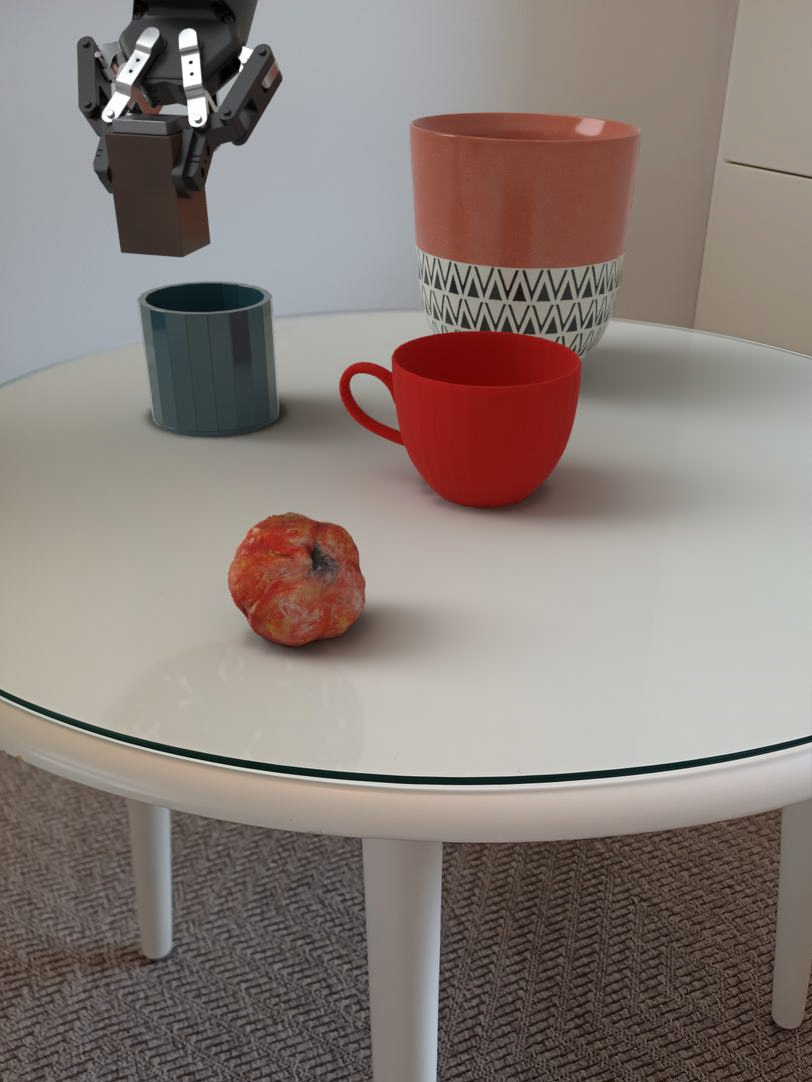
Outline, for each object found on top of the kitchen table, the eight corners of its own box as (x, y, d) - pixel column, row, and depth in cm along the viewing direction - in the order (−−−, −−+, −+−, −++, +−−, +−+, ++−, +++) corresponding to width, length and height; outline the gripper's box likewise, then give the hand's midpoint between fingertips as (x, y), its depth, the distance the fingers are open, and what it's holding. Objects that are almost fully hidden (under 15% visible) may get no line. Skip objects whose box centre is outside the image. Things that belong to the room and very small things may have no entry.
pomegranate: (220, 663, 65) (252, 637, 56) (208, 539, 66) (237, 494, 57) (344, 653, 68) (394, 627, 59) (331, 534, 69) (378, 490, 59)
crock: (143, 441, 88) (126, 313, 83) (164, 398, 97) (150, 280, 92) (274, 441, 89) (265, 314, 84) (284, 399, 98) (276, 281, 93)
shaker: (120, 253, 74) (101, 119, 69) (151, 239, 77) (135, 111, 73) (183, 257, 73) (168, 122, 69) (211, 243, 76) (198, 114, 72)
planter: (470, 334, 117) (474, 107, 106) (648, 364, 109) (673, 123, 98) (371, 386, 101) (365, 127, 91) (570, 424, 94) (589, 147, 83)
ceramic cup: (366, 448, 88) (363, 320, 83) (580, 468, 86) (590, 338, 81) (317, 515, 77) (309, 373, 72) (561, 540, 75) (571, 394, 70)
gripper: (80, -84, 73) (11, 143, 69) (290, -79, 70) (230, 156, 66) (130, 8, 80) (70, 218, 76) (322, 15, 78) (270, 232, 74)
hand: (145, 187), depth 71 cm, fingers closed on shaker, 4 cm apart
